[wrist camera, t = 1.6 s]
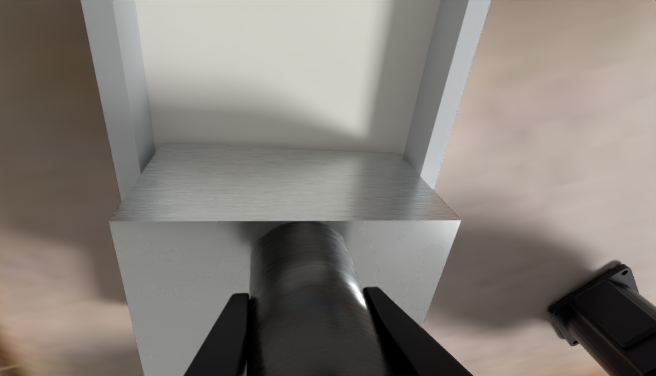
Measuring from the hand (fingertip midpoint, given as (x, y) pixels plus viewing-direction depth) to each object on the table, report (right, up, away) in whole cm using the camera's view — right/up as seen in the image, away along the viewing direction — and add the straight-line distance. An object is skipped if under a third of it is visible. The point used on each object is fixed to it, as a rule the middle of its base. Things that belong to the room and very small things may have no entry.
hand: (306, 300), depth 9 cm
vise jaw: (-2, +1, +7) cm, 7 cm away
